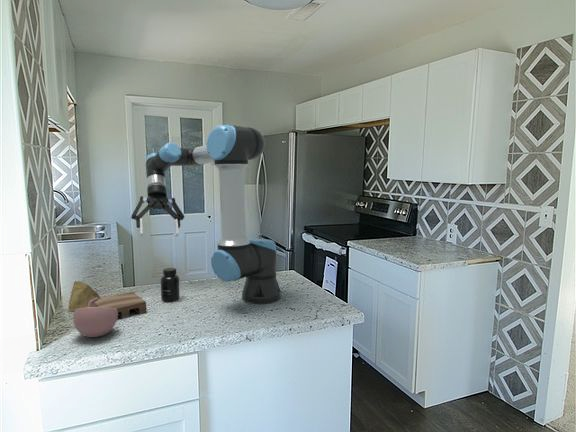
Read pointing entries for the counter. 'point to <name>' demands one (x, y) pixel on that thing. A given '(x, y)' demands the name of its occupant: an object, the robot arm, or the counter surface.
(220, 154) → the robot arm
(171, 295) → the supplement bottle
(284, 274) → the counter surface
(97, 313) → the mortar and pestle
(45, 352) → the counter surface
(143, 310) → the block
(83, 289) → the rock
